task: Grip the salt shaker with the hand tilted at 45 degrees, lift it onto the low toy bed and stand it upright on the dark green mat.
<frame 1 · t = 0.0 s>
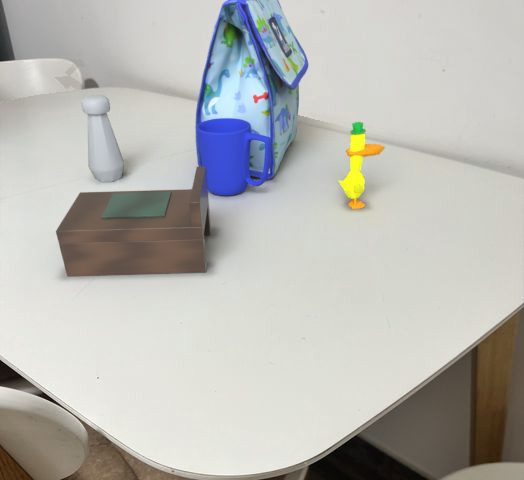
toy figure: (357, 207, 85), on the table
mug: (237, 193, 91), on the table
salt shaker: (109, 179, 97), on the table
lunch bag: (255, 159, 103), on the table
toy bed: (143, 251, 74), on the table
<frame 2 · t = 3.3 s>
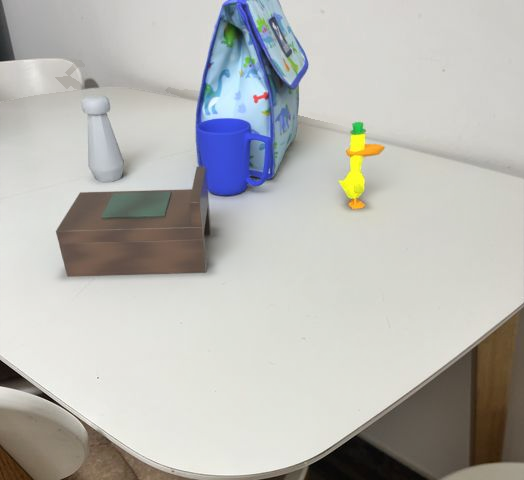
nothing on the table moved.
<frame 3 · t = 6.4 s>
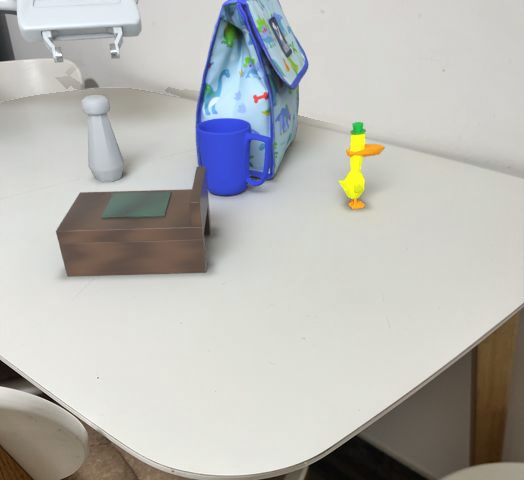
hand: (87, 58, 96), 16 cm above the table, tool tilted 45°, fingers open, 8 cm apart
nothing on the table moved.
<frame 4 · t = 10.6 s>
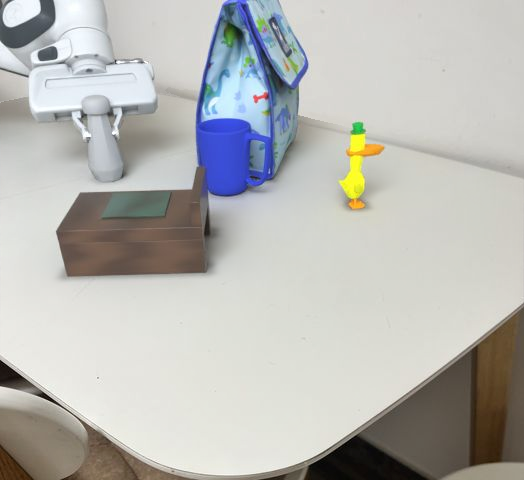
hand: (101, 139, 92), 7 cm above the table, tool tilted 45°, fingers closed on salt shaker, 3 cm apart
salt shaker: (109, 179, 97), on the table, touching gripper
everything else where it was.
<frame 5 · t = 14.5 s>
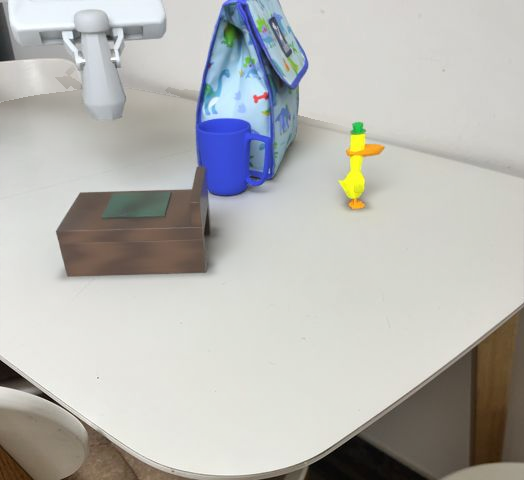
hand: (98, 66, 76), 19 cm above the table, tool tilted 45°, fingers closed on salt shaker, 3 cm apart
salt shaker: (107, 118, 80), point 13 cm above the table, touching gripper
everything else where it was.
when the fingers open (13 cm above the table, at t = 18.6 s): salt shaker stays where it is, resting on toy bed.
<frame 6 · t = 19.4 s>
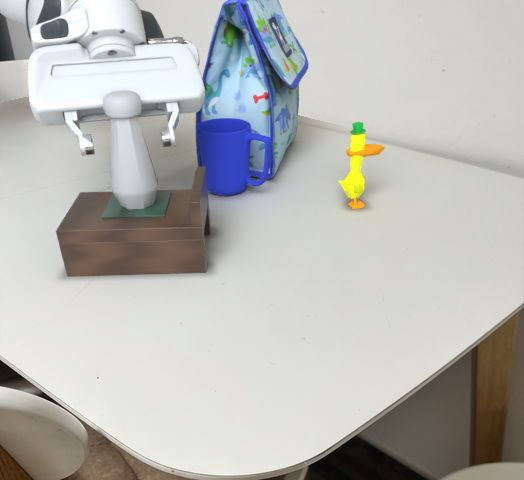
hand: (129, 148, 67), 13 cm above the table, tool tilted 45°, fingers open, 8 cm apart
salt shaker: (137, 204, 72), point 6 cm above the table, touching toy bed
everything else where it was.
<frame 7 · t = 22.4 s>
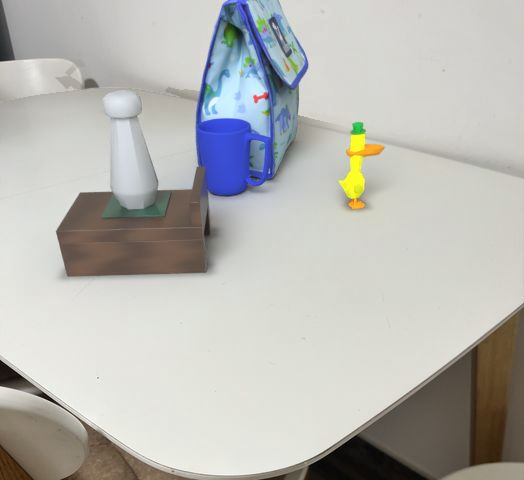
nothing on the table moved.
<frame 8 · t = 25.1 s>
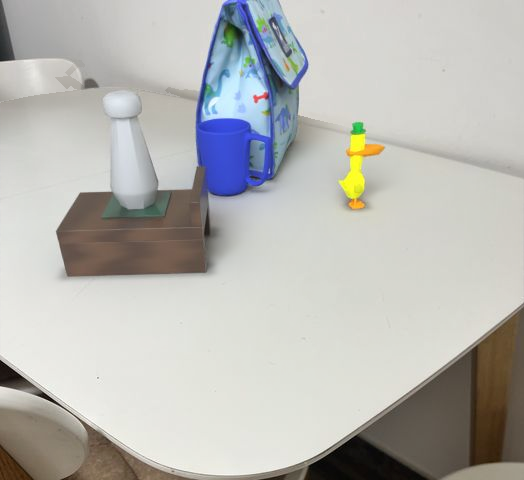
nothing on the table moved.
at the end: salt shaker inside the target area on the toy bed (0.1 cm from its centre), point 6.0 cm above the toy bed's base; salt shaker tilted 0°; the gripper is holding nothing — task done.
